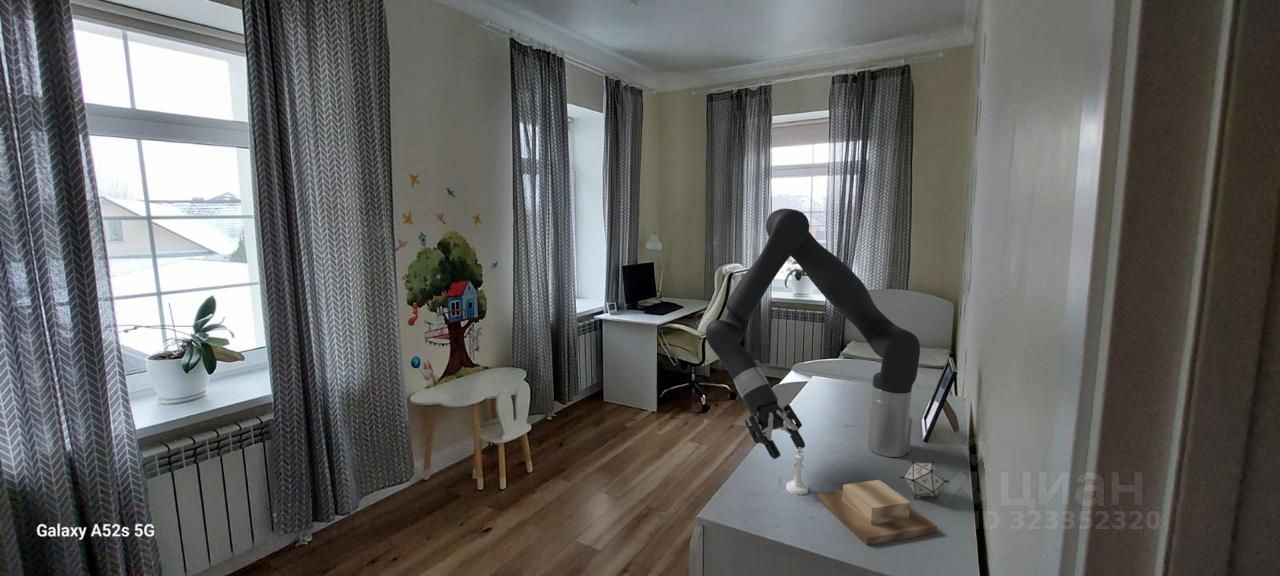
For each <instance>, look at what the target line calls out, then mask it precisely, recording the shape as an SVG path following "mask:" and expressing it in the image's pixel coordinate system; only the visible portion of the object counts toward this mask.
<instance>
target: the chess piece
mask: <svg viewBox="0 0 1280 576" xmlns="http://www.w3.org/2000/svg"><path fill="white" fill-rule="evenodd" d="M804 452H805V451H804V450H803V449H801V447H799V450H798V449H795V453H796V454H794V458H795V459H794V460H795V462H796V463H794V465H793V468H795V474H794V479H793V480H790V481H787V483H786V487H785V488H786V490H787V491H788V492H789V493H791V494H794V495H798V494H799V495H798V496H802V495H803V494H804V495H807V494H808V493H809V492H808V490H809V486H808V484H807V483H805V482H804V481H802V469H804V465H803V460H804V459H805V456H804V455H803V454H804ZM806 493H807V494H806ZM804 495H803V496H804Z"/></svg>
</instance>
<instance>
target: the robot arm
mask: <svg viewBox="0 0 1280 576" xmlns="http://www.w3.org/2000/svg"><path fill="white" fill-rule="evenodd" d="M767 217H768V218H767V219H766V223H765V229H766V233H767V235H768V239H767V241H766V243H765V245H764V247H763V250H762V252H761V253H760V254H759V256H758V257H757V259H756V260H755V262H754V263H753V264H752V265H751V266H750V267H749V268H748V269H747V271H746V272H745V273H744V274H743V276H742V277H741V278H740V280H739V282H738V283H737V285H736V286H735V288H734V290H733V291H732V293H731V295H730V297H729V298H728V299H727V302H726V305H725V306H726V307H725V308H726V309H727V311H728V312H727V314H726V316H725V319H714V320H712V321H710V322H709V323H708V324H707V326H706V328H705V338H706V341H707V343H708V345H709V346H710V348H711V350H712V351H713V352H714V353H715V355H716V356H717V358H719V359H720V361H721V362H722V363H723V364H724V366H725V368H726V370H727V372H728V373H729V375H730V377H731V378H732V381H733V383H734V385H735V387H736V390H737V392H738V394H739V396H740V398H741V399H742V401H743V404H745V407H746V408H747V409H746V410H748V412H749V414H750V415H749V417H747V418H746V419H745V420H744V423H745V425H746V427H747V430H748V431H749V433H750V436H751V437H752V440H753V442H754V443H755V444H756V445H758V444H761V445H763V446H764V447H765V449H766V451H767V453H768V455H769V456H770V457H771V458H772V459H773V460H776V459H778V458H780V457H781V451H779V448H778V447H777V445H776V443H775V442H774V439H772V432H773V431H774V430H779V429H780V430H781V431H784V432H786V433H787V434H788V435H790V436H789V437H790V439H791V441H792V442H793V444H794V446H795V447H796V450H799V447H801V450H803V449H804V448H805V447H806V444H805V443H806V442H805V440H804V439H803V438H802V436H801V434H800V432H799V430H800V428H801V427H802V426H803V423H802V422H801V421H800V419H799V417H798V416H797V414H796V412H795V411H794V410H793V408H792V407H791V405H790V404H786V405H785V406H783V407H780V405H779V404H778V399H779V398H778V396H777V395H776V393H775V391H774V390H773V388H772V387H771V385H770V383H769V382H768V380H767V377H766V376H765V374H764V373H763V372H762V370H761V369H760V367H759V365H758V364H757V363H756V361H755V359H754V358H753V356H752V354H751V353H750V352H749V350H747V349H745V348H744V347H743V346H742V345H741V344H740V343H741V342H742V340H743V339H744V336H745V334H746V331H747V329H748V326H749V323H750V320H751V317H752V315H753V313H754V312H755V310H756V308H757V307H758V305H759V303H760V302H761V300H762V298H763V296H764V295H765V293H766V291H767V290H768V289H769V287H770V285H771V284H772V283H773V281H774V279H775V278H776V276H777V275H778V273H779V272H780V271H781V269H782V267H783V266H784V265H785V264H786V262H787V261H788V260H789V258H790V257H791V258H792V259H793V260H794V261H795V262H796V263H797V264H798V266H800V268H801V269H802V270H803V272H804V273H805V275H806V276H807V277H808V278H809V280H810V281H811V282H812V283H813V284H814V286H815V287H816V288H817V290H818V291H819V292H820V293H821V294H822V295H823V297H824V298H826V300H827V301H828V302H829V303H830V304H831V305H832V306H833V307H834V308H835V309H836V310H837V311H838V312H840V313H841V315H842V316H843V317H844V318H846V319H847V320H848V321H850V323H851V324H852V325H854V327H855V328H857V330H858V332H860V334H861V336H862V337H863V339H865V341H866V342H867V343H868V345H869V347H870V348H871V349H872V351H874V353H875V354H876V355H878V357H880V358H882V359H881V367H880V371H879V372H877V373H875V374H873V377H872V388H871V399H870V400H871V401H870V402H871V403H870V411H869V412H870V413H869V414H870V415H869V424H868V425H869V426H868V434H867V435H868V436H867V437H868V438H867V448H868V449H869V450H870V451H871V452H873V453H875V454H877V455H880V456H884V457H889V458H890V457H891V458H900V457H901V458H902V457H903V456H905V455H906V453H910V446H911V437H912V436H911V434H912V426H913V418H912V417H911V416H910V414H911V412H910V411H911V403H912V401H911V400H912V390H913V385H914V383H915V381H916V380H917V376H918V369H919V364H920V363H919V362H920V354H921V345H920V344H921V343H920V341H919V338H918V337H917V336H916V335H915V334H914V333H913V332H911V331H909V330H907V329H904V328H902V327H900V326H898V325H896V324H895V323H894V322H892V321H891V320H890V319H889V318H887V317H886V315H884V313H882V311H880V310H879V308H878V307H877V306H876V305H875V303H874V301H873V299H872V297H871V294H870V292H869V290H868V289H867V287H866V286H865V284H864V283H863V282H862V280H861V279H860V278H859V277H858V275H856V273H855V272H854V271H853V270H852V269H851V268H850V267H849V266H848V265H847V264H846V263H844V262H843V261H842V260H841V259H840V258H838V257H837V256H836V255H835V254H833V253H832V252H831V251H829V250H828V249H827V248H825V247H824V246H823V245H821V244H820V242H818V240H817V239H816V238H815V237H814V236H813V234H812V233H811V232H810V222H809V219H808V217H807V216H806V214H805V213H803V211H800V210H798V209H793V208H780V209H779V208H778V209H777V210H775V211H773V212H771V213H770V214H769V216H767Z"/></svg>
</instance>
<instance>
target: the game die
mask: <svg viewBox="0 0 1280 576" xmlns="http://www.w3.org/2000/svg"><path fill="white" fill-rule="evenodd" d="M910 462H911V465H910V467H909V468H908V470H907V471H906V473H905V475H904V476H903V475H900V476H899V478H900V479H904V481H905V482H906V483H907V484H908V487H910V489H911V491H912V492H913V493H914V495H913V500H915V499H917V497H919V496H920V497H934V498H935V499H936V500H939V497H938V493H939V491H940V490H942V488H943V486H944V484H945V483H950V481H949V480H947V479H945V478H944V477H943V476H942V474H941V473H940V471H939V470H938V468H937V467H936V466H935V464H934V463H935V459H933V460H931V462H914V460H913V459H910Z"/></svg>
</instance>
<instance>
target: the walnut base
mask: <svg viewBox="0 0 1280 576" xmlns="http://www.w3.org/2000/svg"><path fill="white" fill-rule="evenodd" d="M817 501H819V503H821V504H822V505H823V506H824V507H825V508H826V509H827V510H828V511H829V512H830V513H831V514H832V515H834V517H836V519H838V520H839V521H840V522H842V523H843V525H844V526H846V527H847V528H848V529H849V530H850V531H851V532H852V533H853V535H855V536H856V537H857V538H858V539H859V540H860V541H861V542H863V544H865V545H866V546H870V545H876V544H882V543H887V542H888V543H889V542H893V541H899V540H903V539H909V538H910V539H911V538H917V537H922V536H927V535H934V534H937V528H938V526H937V525H936V524H935V523H933V522H932V521H931V520H929V519H928V518H927V517H926V516H924V515H923V514H922V513H920V512H918V511H917V510H916V509H915V508H913V507H912V506H911V501H910V500H908V499H907V498H905V497H904V496H902V495H901V494H900V493H898V492H897V491H896V490H894V489H893V488H891V487H890V486H888V485H887V484H886V483H884V482H883V481H882V480H881V479H875V480H868V481H867V480H866V481H860V482H853V483H848V484H847V483H846V484H843V485H842V489H841V490H833V491H825V492H819V493H817Z"/></svg>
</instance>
